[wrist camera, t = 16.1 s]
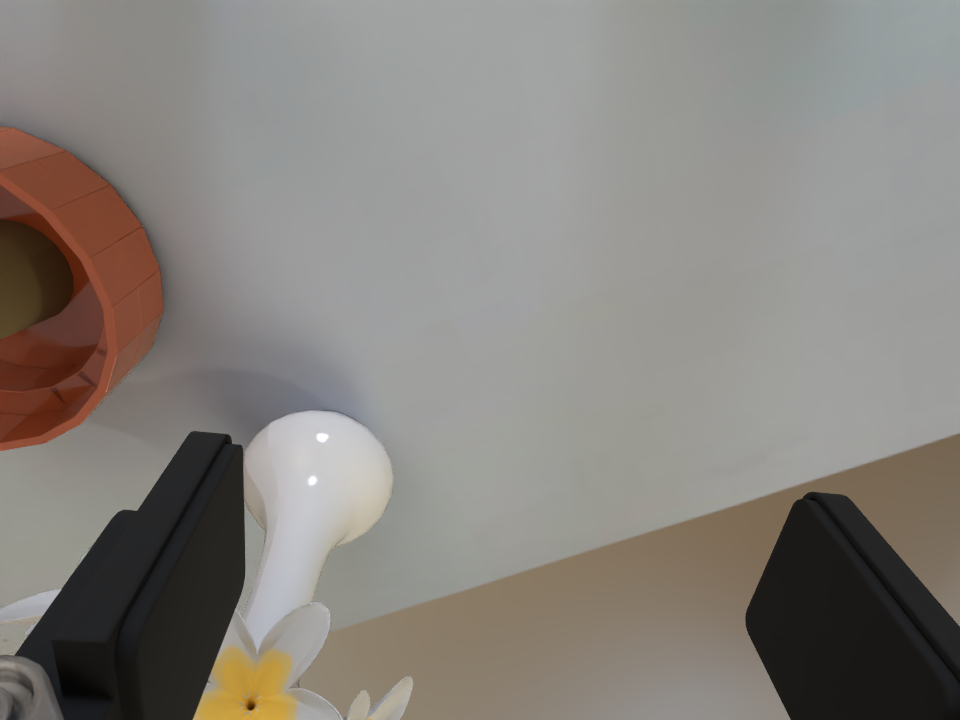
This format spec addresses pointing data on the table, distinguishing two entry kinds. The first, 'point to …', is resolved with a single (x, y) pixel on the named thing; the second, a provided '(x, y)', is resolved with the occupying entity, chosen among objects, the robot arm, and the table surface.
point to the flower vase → (289, 568)
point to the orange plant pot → (96, 293)
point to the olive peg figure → (30, 278)
